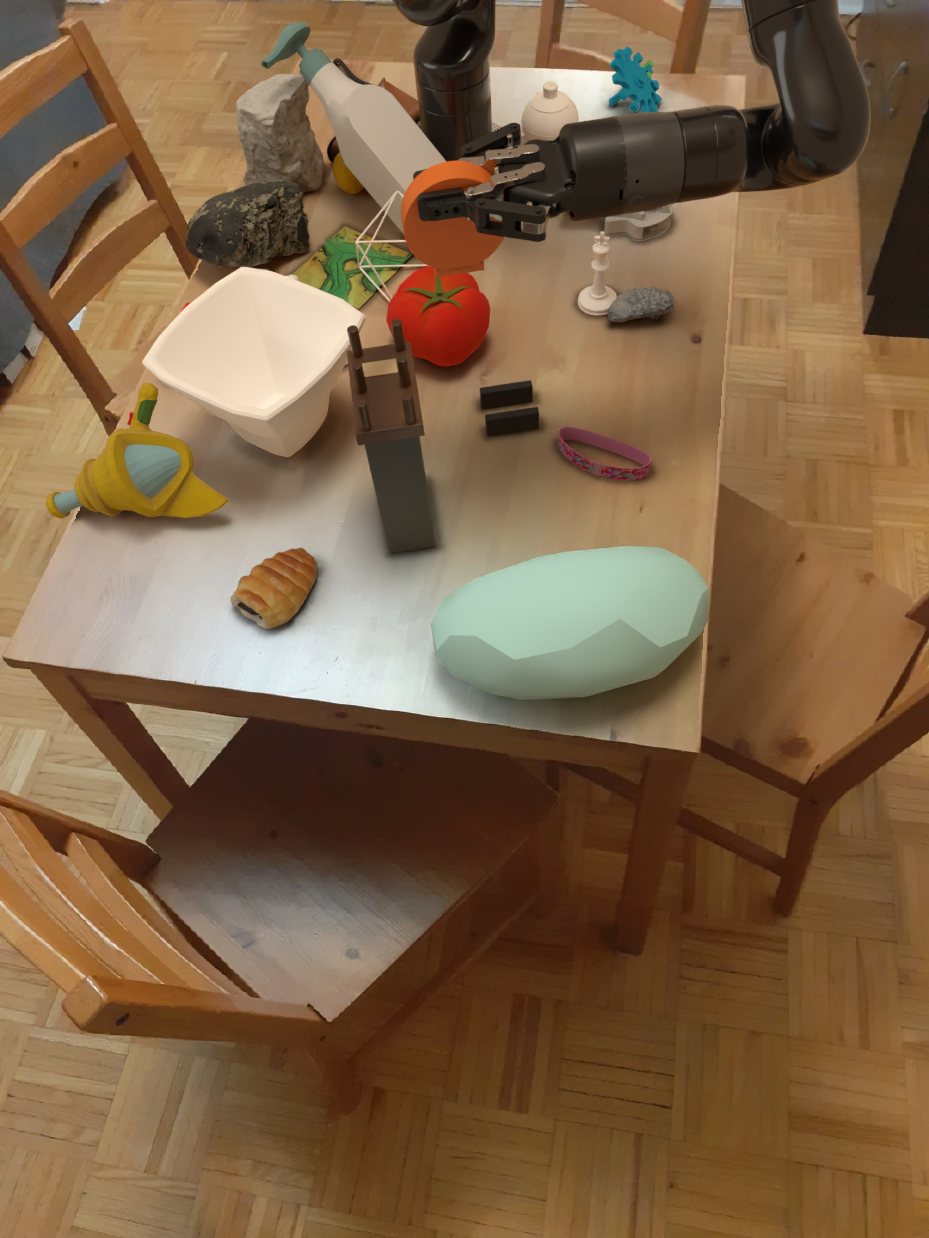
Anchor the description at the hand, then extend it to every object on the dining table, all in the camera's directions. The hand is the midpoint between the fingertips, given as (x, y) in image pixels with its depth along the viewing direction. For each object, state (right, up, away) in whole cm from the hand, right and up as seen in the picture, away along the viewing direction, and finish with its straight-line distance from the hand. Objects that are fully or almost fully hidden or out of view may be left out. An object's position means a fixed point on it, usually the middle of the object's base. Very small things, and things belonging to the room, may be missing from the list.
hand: (417, 197), depth 78 cm
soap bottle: (-1, +17, +42) cm, 45 cm away
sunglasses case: (-8, +36, +59) cm, 70 cm away
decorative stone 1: (-19, +25, +55) cm, 63 cm away
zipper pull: (+22, +18, +46) cm, 55 cm away
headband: (+19, -18, +25) cm, 36 cm away
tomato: (+1, -2, +36) cm, 36 cm away
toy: (-35, -12, +21) cm, 43 cm away
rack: (-3, -15, +7) cm, 17 cm away
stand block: (-2, -24, +23) cm, 33 cm away
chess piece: (+21, +4, +38) cm, 44 cm away
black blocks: (+9, -12, +29) cm, 33 cm away
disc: (+3, -3, +6) cm, 8 cm away
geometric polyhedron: (+1, +11, +44) cm, 45 cm away
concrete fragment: (-22, +23, +45) cm, 55 cm away
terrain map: (-11, +11, +44) cm, 47 cm away
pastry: (-16, -33, +19) cm, 41 cm away
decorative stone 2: (+12, -43, +13) cm, 46 cm away
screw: (-12, -5, +35) cm, 38 cm away
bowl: (-17, -13, +31) cm, 37 cm away
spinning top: (+16, +28, +53) cm, 62 cm away
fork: (+15, +35, +57) cm, 69 cm away
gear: (+29, +40, +59) cm, 77 cm away
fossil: (+25, +5, +37) cm, 45 cm away
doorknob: (-11, +24, +48) cm, 54 cm away
